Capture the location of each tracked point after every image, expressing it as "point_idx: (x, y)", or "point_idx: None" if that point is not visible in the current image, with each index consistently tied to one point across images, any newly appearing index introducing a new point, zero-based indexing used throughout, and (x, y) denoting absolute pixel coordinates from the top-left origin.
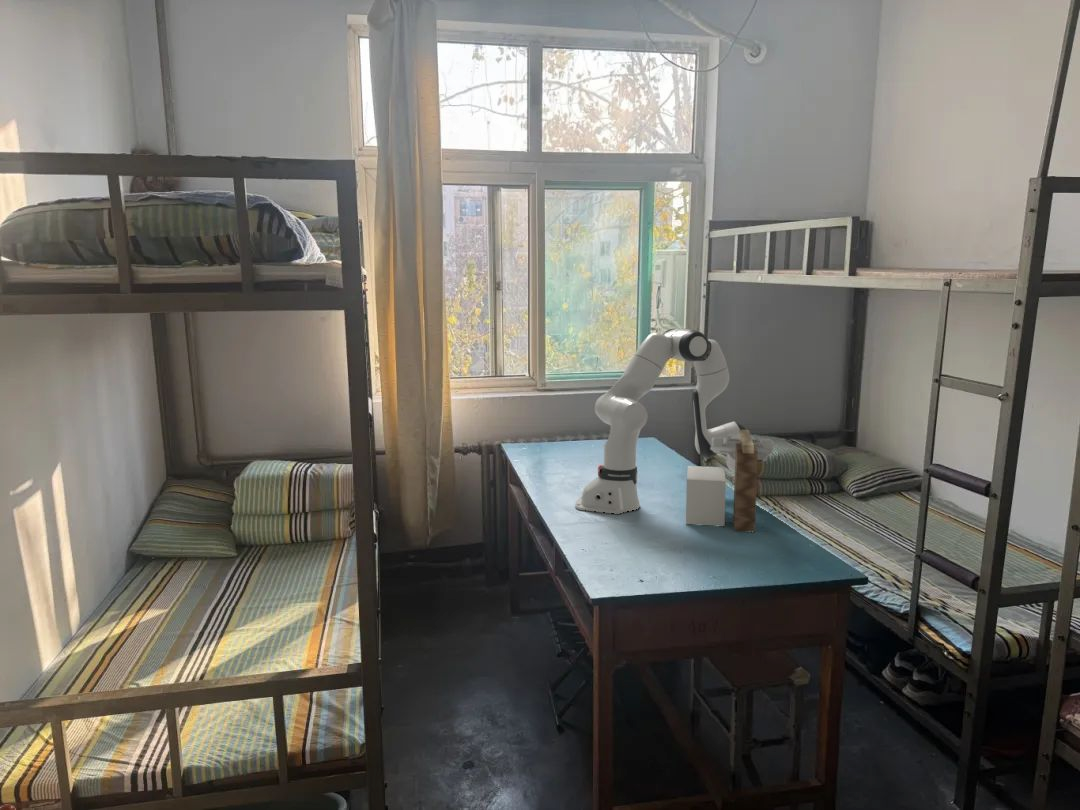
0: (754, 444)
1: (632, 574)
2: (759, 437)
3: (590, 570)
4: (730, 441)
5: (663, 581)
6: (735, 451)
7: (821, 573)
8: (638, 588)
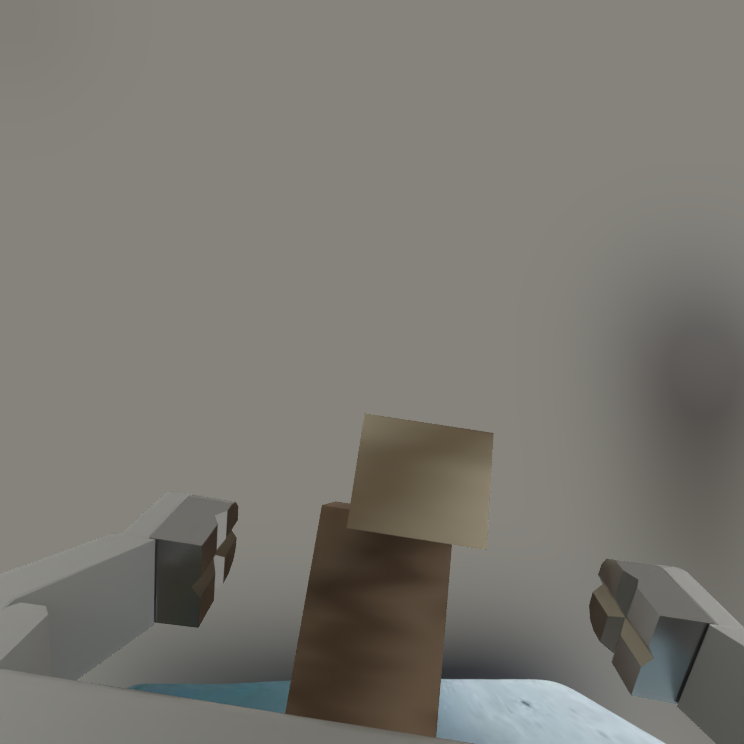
0: (330, 505)
1: (554, 719)
2: (185, 497)
3: (636, 735)
4: (608, 648)
5: (490, 699)
6: (447, 590)
7: (196, 697)
8: (516, 688)
